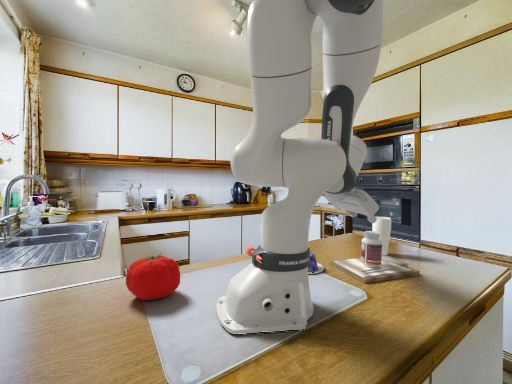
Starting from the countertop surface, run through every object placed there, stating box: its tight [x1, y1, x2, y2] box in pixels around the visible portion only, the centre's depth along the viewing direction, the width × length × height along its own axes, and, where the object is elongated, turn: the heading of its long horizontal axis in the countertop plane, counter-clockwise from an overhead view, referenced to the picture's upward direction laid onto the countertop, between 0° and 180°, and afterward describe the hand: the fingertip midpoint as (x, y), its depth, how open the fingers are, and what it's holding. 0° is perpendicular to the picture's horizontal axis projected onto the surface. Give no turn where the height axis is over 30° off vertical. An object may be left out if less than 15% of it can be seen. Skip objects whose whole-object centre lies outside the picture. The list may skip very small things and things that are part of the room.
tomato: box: [125, 252, 181, 301], centre depth 59 cm, size 11×13×10 cm
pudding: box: [308, 251, 325, 275], centre depth 79 cm, size 12×12×5 cm
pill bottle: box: [360, 230, 382, 268], centre depth 79 cm, size 6×6×11 cm
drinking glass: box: [371, 215, 392, 256], centre depth 95 cm, size 7×7×15 cm
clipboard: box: [329, 255, 421, 284], centre depth 79 cm, size 22×16×2 cm
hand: (363, 218), depth 75 cm, fingers open, 8 cm apart
